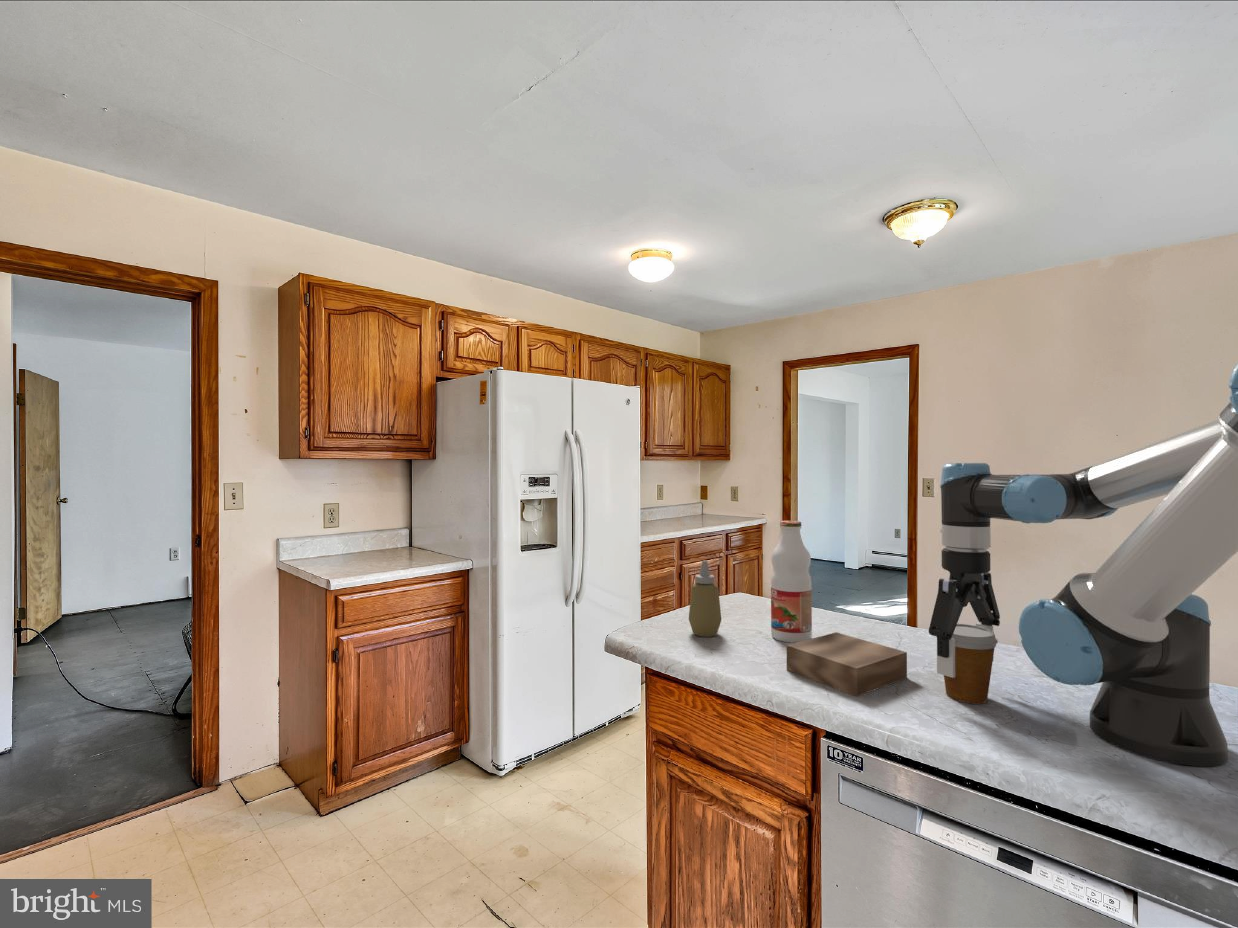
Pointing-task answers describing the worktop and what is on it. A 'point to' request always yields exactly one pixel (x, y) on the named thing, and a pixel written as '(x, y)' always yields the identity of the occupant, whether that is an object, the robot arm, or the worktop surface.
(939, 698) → the worktop surface
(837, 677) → the walnut base
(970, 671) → the disposable coffee cup
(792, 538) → the fruit juice
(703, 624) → the squeeze bottle
